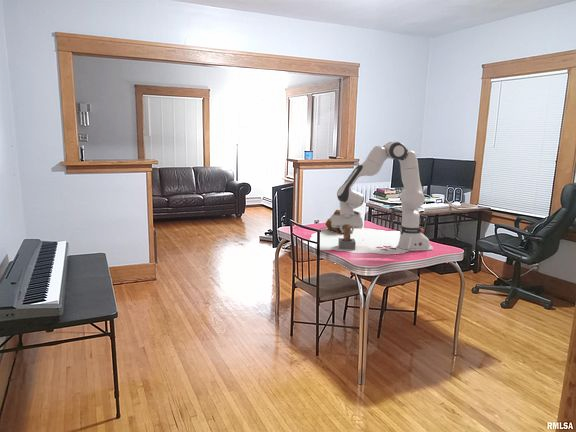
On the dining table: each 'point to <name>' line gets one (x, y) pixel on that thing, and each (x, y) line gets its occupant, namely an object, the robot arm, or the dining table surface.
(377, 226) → the dining table surface
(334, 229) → the rough brown rock
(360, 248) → the cream base board
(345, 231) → the walnut slat
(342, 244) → the charcoal end cap
